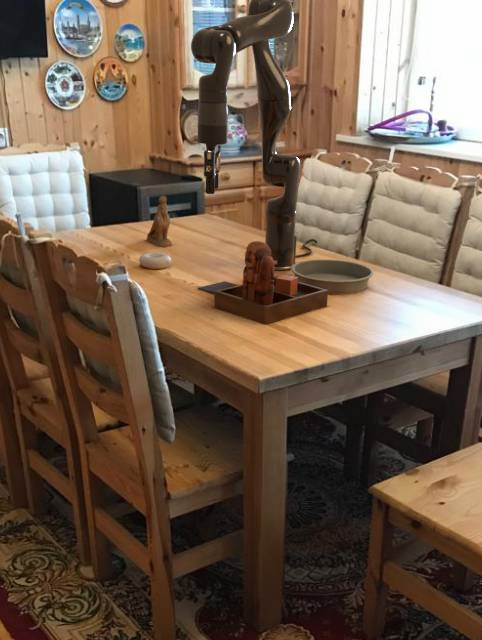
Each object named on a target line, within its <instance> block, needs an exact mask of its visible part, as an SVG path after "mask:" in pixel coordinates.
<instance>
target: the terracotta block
mask: <svg viewBox="0 0 482 640" xmlns="http://www.w3.org/2000/svg"><path fill="white" fill-rule="evenodd" d="M297 285H298V277H295V275H294V276H293V275H287V274H282V275H279V277H277V278H276V291H277V292H281V293H284V294H288V295H291V296H293V295H295V294H297Z"/></svg>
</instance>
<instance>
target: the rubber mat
mask: <svg viewBox="0 0 482 640" xmlns="http://www.w3.org/2000/svg"><path fill="white" fill-rule="evenodd" d="M237 285H238V284H236V283H232V282H229V281H227V280H225V281H221V282H216V283H211V284H208V285H204V286H199V287H197V290H199V291H203V292H206V293H210V294H212V295H214V291H217V290H221V289H225V288H229V287H233V286H237Z"/></svg>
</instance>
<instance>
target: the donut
mask: <svg viewBox="0 0 482 640" xmlns="http://www.w3.org/2000/svg"><path fill="white" fill-rule="evenodd" d="M138 259H139V260H138V262H139V264H140V265H141V266H142V267H143V268H145V269H152V270H160V269H166V268H168V267H169V266H171V264H172V258H171V256H170V255H169V254H167V253H163V252H146V253H143V254H141V255H140V257H139V258H138Z"/></svg>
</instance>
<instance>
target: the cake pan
mask: <svg viewBox="0 0 482 640" xmlns="http://www.w3.org/2000/svg"><path fill="white" fill-rule="evenodd" d="M290 270H291V272H292V273H293V274H294V277H298V282H301V283H305V284H308V285H312V286H315V287H319V288H323V289H326V290H328V295H329V294H330V295H348V294H356V293H359V292H362V291H364V290H365V289H366V288H367V287H368V284H369V281H370V279H371V278H372V277H373V276H374V270H373V269H371V268H370V267H368V266H367V265H365V264H364V265H363V264H361V263H357V262H353V261H347V260H341V259H340V260H339V259H308V260H302V261H299V262H295V264H294V265H293V266H292V267H291V269H290Z"/></svg>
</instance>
